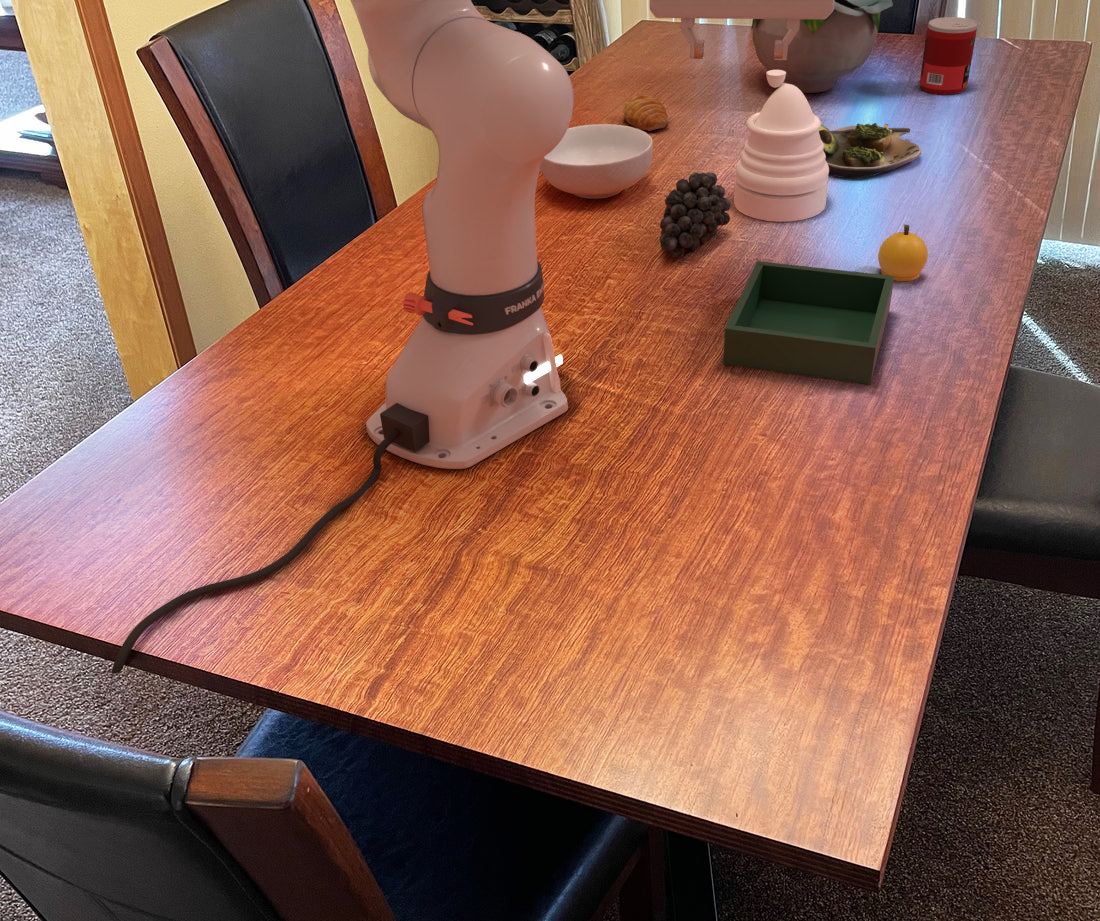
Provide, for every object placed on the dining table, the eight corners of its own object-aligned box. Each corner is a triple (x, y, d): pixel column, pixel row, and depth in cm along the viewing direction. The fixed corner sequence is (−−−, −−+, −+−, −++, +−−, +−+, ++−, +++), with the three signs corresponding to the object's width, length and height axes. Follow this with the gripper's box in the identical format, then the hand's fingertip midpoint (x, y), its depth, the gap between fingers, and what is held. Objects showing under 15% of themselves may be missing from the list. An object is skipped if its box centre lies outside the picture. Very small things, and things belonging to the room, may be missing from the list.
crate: (869, 391, 117) (875, 347, 114) (722, 370, 122) (724, 328, 119) (888, 316, 130) (894, 275, 127) (754, 300, 135) (757, 260, 132)
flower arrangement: (880, 66, 205) (897, -78, 191) (881, 111, 186) (901, -46, 171) (744, 64, 211) (751, -77, 196) (732, 107, 191) (739, -45, 177)
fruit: (680, 203, 137) (728, 158, 147) (624, 213, 142) (674, 169, 152) (699, 267, 141) (745, 219, 151) (644, 274, 146) (692, 227, 156)
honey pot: (716, 208, 157) (721, 80, 147) (763, 178, 165) (771, 55, 155) (797, 229, 150) (808, 96, 140) (842, 197, 158) (856, 69, 148)
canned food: (972, 94, 190) (983, 27, 184) (925, 96, 191) (935, 30, 184) (959, 80, 197) (970, 15, 190) (913, 82, 197) (922, 18, 190)
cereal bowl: (609, 159, 175) (608, 114, 171) (675, 190, 163) (676, 144, 159) (518, 186, 168) (515, 141, 163) (581, 221, 156) (579, 173, 152)
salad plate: (874, 125, 181) (878, 96, 178) (950, 159, 168) (955, 129, 165) (775, 148, 175) (777, 119, 172) (846, 186, 161) (849, 155, 159)
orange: (924, 290, 135) (932, 237, 131) (874, 287, 136) (881, 234, 132) (923, 269, 139) (932, 217, 135) (875, 266, 141) (882, 214, 136)
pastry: (677, 129, 184) (677, 106, 182) (639, 136, 182) (639, 113, 180) (655, 112, 191) (655, 90, 189) (619, 118, 190) (618, 96, 187)
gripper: (845, -81, 119) (831, 51, 127) (655, -80, 123) (653, 49, 131) (846, -70, 114) (831, 67, 122) (647, -68, 118) (646, 64, 126)
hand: (738, 58), depth 126 cm, fingers open, 8 cm apart
